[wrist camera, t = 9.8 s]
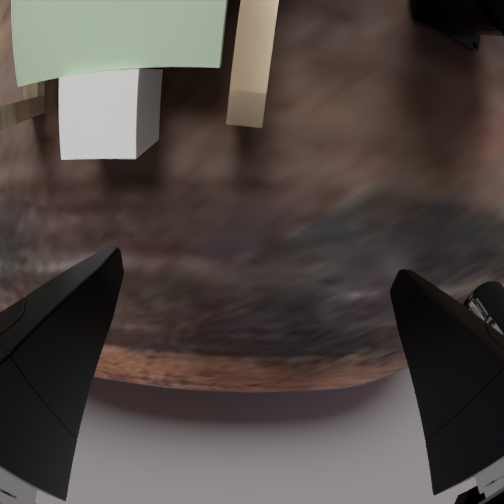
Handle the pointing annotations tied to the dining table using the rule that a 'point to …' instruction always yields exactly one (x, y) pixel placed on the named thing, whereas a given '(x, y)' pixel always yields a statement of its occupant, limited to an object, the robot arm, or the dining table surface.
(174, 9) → the trapdoor
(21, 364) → the robot arm
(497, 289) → the beverage can
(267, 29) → the trapdoor frame
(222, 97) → the dining table surface
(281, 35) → the dining table surface
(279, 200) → the dining table surface
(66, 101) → the plain light gray cube
